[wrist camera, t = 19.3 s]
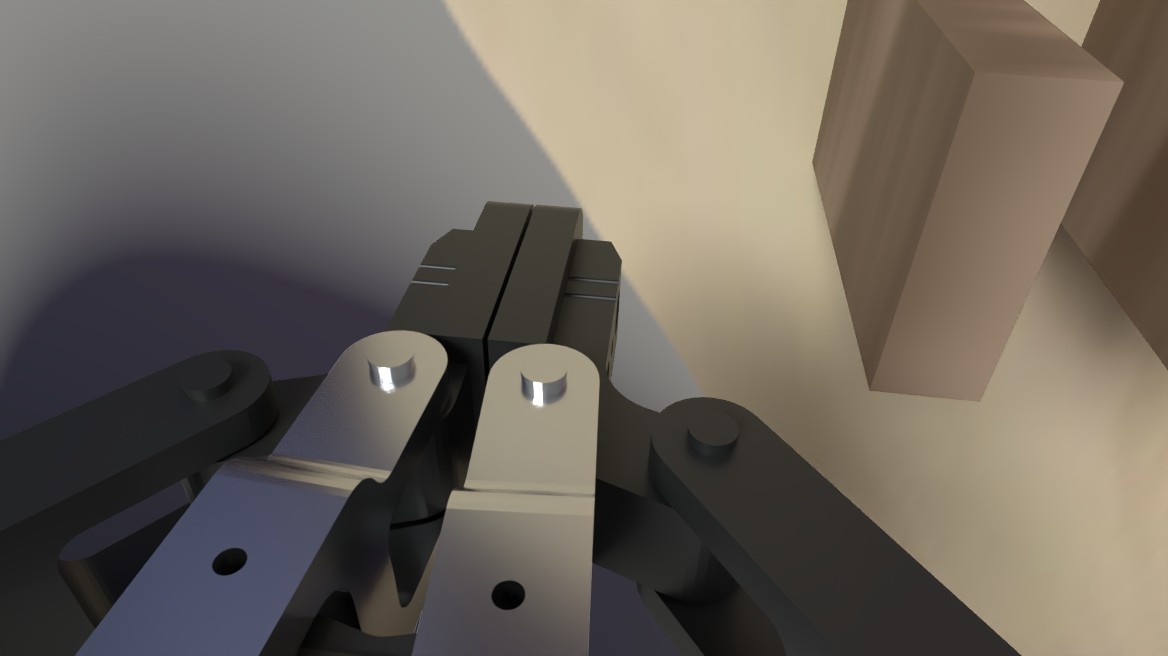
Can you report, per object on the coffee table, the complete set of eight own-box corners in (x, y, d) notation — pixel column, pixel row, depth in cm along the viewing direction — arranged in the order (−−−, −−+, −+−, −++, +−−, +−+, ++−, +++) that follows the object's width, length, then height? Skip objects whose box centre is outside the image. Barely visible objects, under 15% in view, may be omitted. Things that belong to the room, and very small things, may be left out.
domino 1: (947, -62, 19) (1124, 81, 11) (883, 167, 22) (980, 401, 14) (862, -67, 19) (975, 72, 11) (812, 162, 22) (869, 390, 15)
